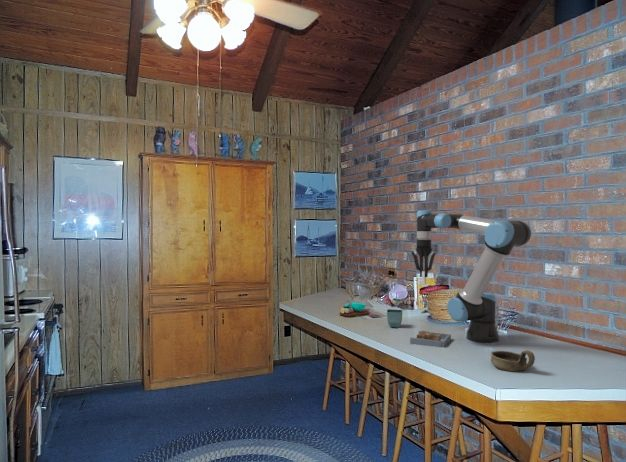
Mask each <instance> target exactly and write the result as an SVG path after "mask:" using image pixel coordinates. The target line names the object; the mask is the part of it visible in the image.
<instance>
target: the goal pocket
mask: <svg viewBox="0 0 626 462" xmlns="http://www.w3.org/2000/svg"><path fill="white" fill-rule="evenodd" d="M421 331H422V330H419V331H418V334H419V333H420V332H421ZM428 332H429V333H431V334H440V335H441V341H435V340H427V339H419V338H417V337H410V338H409V342H410V343H409V345H415V344H416V346H427V347H434V346H435V347H436V348H443V347H444V346H445V347H446V346H447V345H448V344H449V342H450V341H451V340H452V334H449V333H440V332H432V331H428ZM435 347H434V348H435ZM445 347H444V348H445Z"/></svg>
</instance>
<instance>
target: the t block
mask: <svg viewBox="0 0 626 462" xmlns="http://www.w3.org/2000/svg"><path fill="white" fill-rule="evenodd" d="M420 331H421V332H420V333H419V332H418V333H417V334H416V338H419V339H427V340H435V341H442V339H441V335H440V334H431V333H429V332H430V331H425V330H420Z"/></svg>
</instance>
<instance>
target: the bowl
mask: <svg viewBox="0 0 626 462" xmlns="http://www.w3.org/2000/svg"><path fill="white" fill-rule="evenodd" d="M526 355H527V356H528V358H527V357H526ZM527 359H528V360H527ZM535 360H536V357H535V354H534V353H533V351H531V350H529V349H525V350H522V351H521V353H516V352H512V351H507V350H494V351H490V362H491V364H492V365H493V366H494V367H495V368H496V369H499V370H501V371H505V372H507V371H508V372H521V371H524V370H527V369H529V368H531V367H532V366H534V364H535Z"/></svg>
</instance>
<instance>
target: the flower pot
mask: <svg viewBox="0 0 626 462" xmlns="http://www.w3.org/2000/svg"><path fill="white" fill-rule="evenodd" d="M386 320H387V324H388V327H390V328H398V329H399V328H400V326H401V325H402V322H403V321H402V320H403V309H391V308H389V309H388V308H387V309H386Z"/></svg>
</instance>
